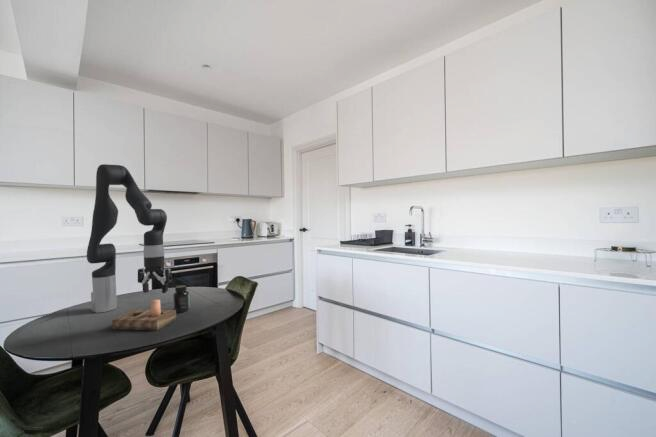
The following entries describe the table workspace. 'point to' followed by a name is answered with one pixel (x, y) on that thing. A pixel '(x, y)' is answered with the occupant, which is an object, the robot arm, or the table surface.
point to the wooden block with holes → (143, 320)
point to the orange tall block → (155, 308)
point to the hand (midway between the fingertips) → (155, 292)
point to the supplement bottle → (181, 299)
